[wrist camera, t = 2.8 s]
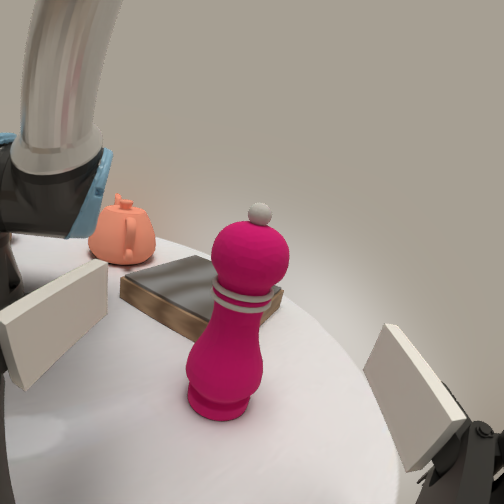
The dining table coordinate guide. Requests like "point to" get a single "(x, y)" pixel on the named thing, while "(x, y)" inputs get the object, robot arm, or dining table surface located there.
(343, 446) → the dining table surface
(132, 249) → the teapot
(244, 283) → the pepper mill
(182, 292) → the walnut stand
